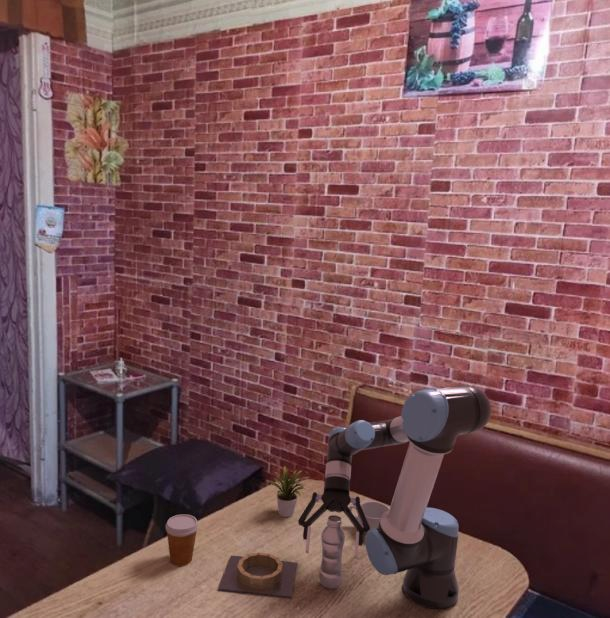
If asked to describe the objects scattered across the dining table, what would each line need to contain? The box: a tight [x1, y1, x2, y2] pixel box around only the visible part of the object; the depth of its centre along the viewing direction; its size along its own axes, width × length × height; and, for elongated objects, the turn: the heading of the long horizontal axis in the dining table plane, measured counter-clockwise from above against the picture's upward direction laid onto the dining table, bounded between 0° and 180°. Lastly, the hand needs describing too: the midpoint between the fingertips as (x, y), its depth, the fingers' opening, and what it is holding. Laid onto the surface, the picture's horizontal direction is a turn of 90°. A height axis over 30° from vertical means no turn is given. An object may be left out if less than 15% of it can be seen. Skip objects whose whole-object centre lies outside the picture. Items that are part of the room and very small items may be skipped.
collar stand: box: [217, 552, 299, 600], centre depth 168 cm, size 20×16×4 cm
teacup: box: [349, 500, 390, 535], centre depth 196 cm, size 14×11×8 cm
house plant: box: [269, 465, 309, 518], centre depth 202 cm, size 14×14×16 cm
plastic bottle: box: [318, 514, 346, 590], centre depth 165 cm, size 6×7×20 cm
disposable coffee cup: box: [164, 514, 200, 567], centre depth 173 cm, size 10×10×12 cm
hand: (331, 554), depth 163 cm, fingers open, 13 cm apart
